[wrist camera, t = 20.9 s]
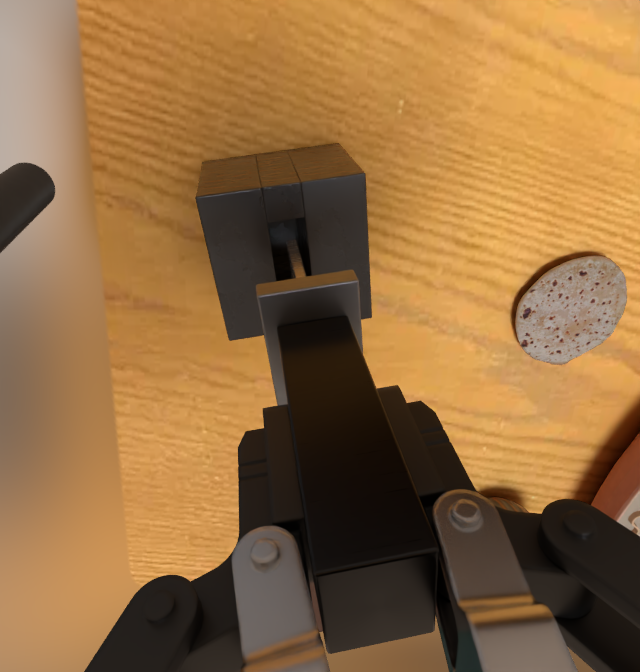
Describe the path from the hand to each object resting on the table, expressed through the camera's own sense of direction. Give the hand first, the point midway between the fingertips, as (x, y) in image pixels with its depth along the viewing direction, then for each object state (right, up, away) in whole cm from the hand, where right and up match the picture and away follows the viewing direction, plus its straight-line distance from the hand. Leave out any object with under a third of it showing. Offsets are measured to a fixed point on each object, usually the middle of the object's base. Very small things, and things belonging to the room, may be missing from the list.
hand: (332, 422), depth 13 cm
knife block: (-2, +9, +14) cm, 17 cm away
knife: (-1, +5, +8) cm, 9 cm away
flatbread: (+16, +4, +20) cm, 26 cm away
